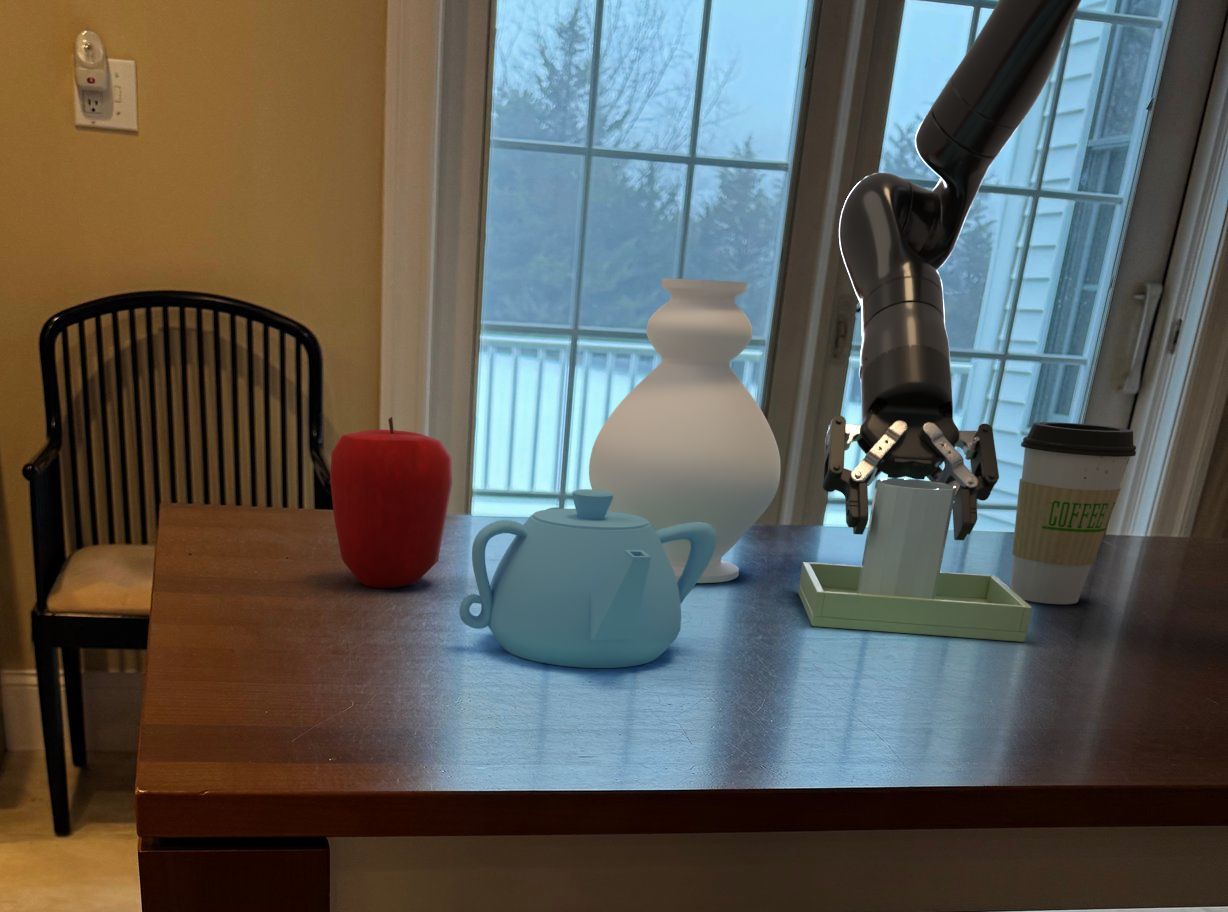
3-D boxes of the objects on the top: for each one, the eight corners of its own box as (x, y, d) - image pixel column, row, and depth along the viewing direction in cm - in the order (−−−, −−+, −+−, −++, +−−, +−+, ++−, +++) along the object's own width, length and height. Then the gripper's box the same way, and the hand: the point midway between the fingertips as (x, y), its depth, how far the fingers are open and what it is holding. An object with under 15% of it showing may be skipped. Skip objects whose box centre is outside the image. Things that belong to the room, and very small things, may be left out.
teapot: (718, 641, 109) (737, 489, 103) (633, 688, 95) (650, 516, 90) (541, 613, 115) (550, 468, 110) (437, 653, 101) (442, 490, 96)
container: (925, 601, 123) (948, 481, 119) (937, 616, 118) (962, 491, 113) (852, 595, 124) (872, 476, 119) (860, 610, 118) (882, 486, 114)
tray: (989, 607, 127) (996, 575, 125) (1024, 642, 114) (1032, 607, 113) (797, 593, 128) (802, 561, 127) (811, 626, 116) (817, 591, 114)
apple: (459, 595, 120) (466, 424, 114) (341, 595, 117) (342, 421, 111) (433, 571, 129) (438, 412, 123) (322, 570, 126) (322, 408, 120)
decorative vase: (796, 589, 130) (841, 287, 118) (614, 588, 125) (643, 276, 114) (723, 554, 145) (757, 284, 133) (559, 553, 141) (579, 274, 129)
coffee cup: (1088, 613, 126) (1131, 435, 119) (978, 597, 131) (1014, 424, 124) (1107, 597, 134) (1149, 429, 127) (1003, 582, 138) (1038, 419, 131)
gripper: (834, 337, 118) (838, 498, 113) (1002, 346, 118) (1014, 507, 113) (813, 400, 125) (816, 554, 121) (971, 409, 125) (981, 563, 120)
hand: (912, 531), depth 117 cm, fingers open, 8 cm apart
